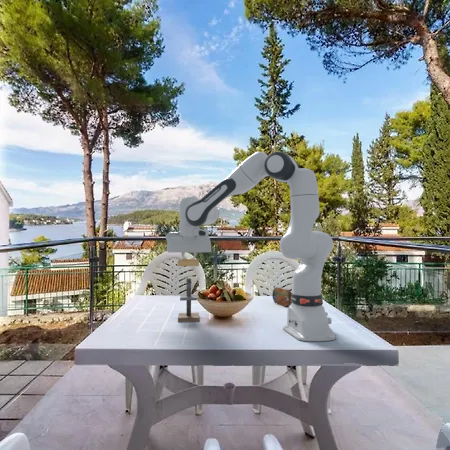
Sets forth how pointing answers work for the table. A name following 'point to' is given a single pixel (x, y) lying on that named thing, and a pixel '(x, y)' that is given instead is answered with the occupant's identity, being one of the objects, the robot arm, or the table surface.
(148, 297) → the table surface
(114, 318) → the table surface
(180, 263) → the tan rectangular frame
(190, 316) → the stand
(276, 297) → the tin
